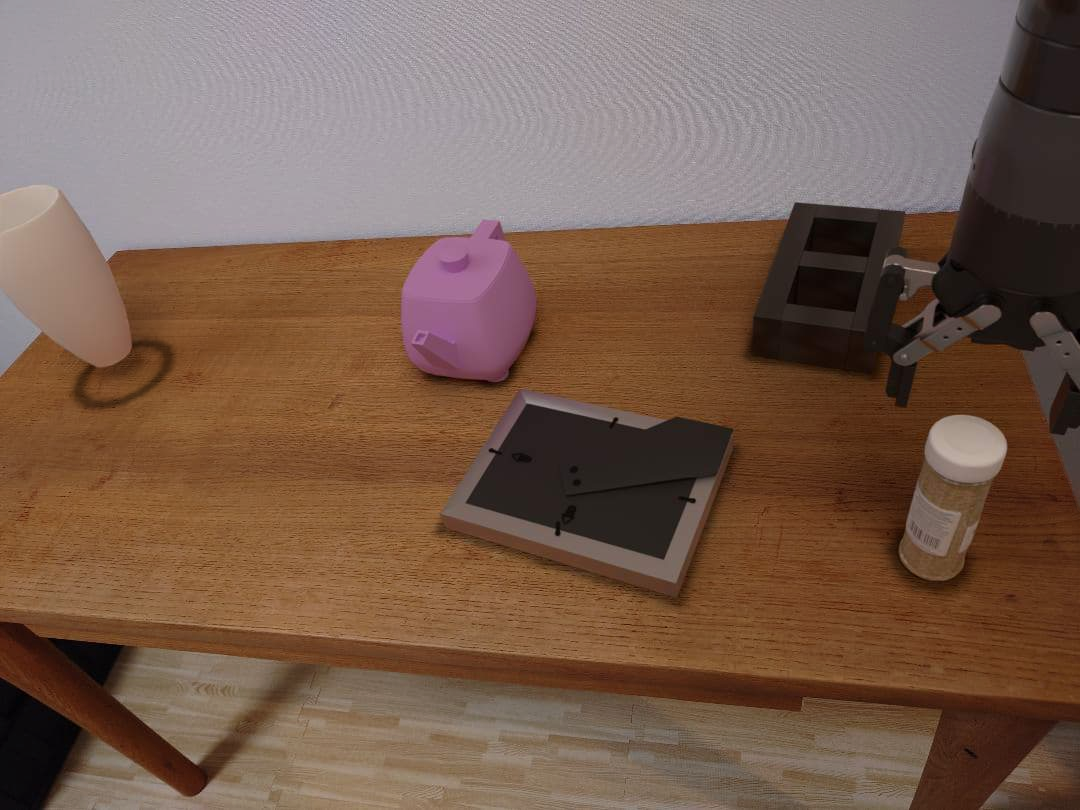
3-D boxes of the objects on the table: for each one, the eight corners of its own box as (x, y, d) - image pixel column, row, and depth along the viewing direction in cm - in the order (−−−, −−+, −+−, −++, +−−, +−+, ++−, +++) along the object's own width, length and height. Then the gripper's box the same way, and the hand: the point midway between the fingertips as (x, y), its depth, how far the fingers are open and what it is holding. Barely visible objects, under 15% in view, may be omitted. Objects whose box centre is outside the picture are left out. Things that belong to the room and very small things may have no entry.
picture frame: (732, 450, 71) (523, 403, 79) (733, 428, 69) (518, 382, 77) (677, 598, 61) (445, 528, 69) (675, 578, 59) (437, 508, 67)
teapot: (461, 290, 94) (434, 194, 85) (562, 298, 90) (545, 199, 81) (386, 411, 81) (346, 313, 72) (500, 428, 77) (472, 326, 68)
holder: (898, 251, 86) (905, 211, 83) (873, 374, 74) (880, 333, 71) (791, 240, 91) (794, 202, 87) (751, 355, 79) (753, 316, 75)
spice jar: (976, 571, 59) (1026, 451, 50) (920, 591, 58) (959, 474, 49) (937, 524, 62) (977, 403, 53) (884, 543, 62) (914, 424, 52)
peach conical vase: (60, 393, 91) (-69, 233, 76) (127, 336, 98) (20, 177, 83) (122, 413, 87) (-2, 247, 72) (188, 351, 93) (86, 187, 78)
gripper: (887, 202, 38) (845, 432, 50) (1257, 233, 33) (1116, 482, 44) (904, 127, 43) (862, 353, 54) (1232, 144, 38) (1109, 390, 49)
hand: (976, 411), depth 49 cm, fingers open, 8 cm apart
